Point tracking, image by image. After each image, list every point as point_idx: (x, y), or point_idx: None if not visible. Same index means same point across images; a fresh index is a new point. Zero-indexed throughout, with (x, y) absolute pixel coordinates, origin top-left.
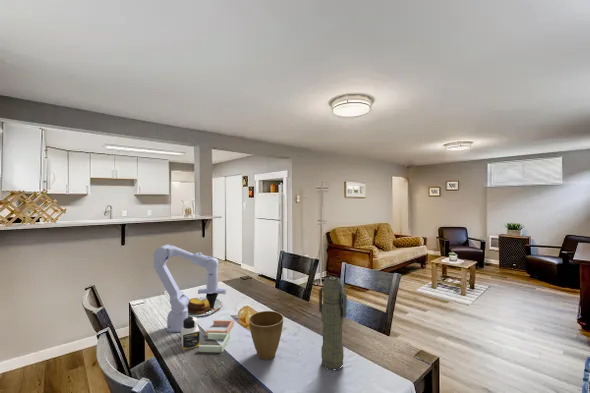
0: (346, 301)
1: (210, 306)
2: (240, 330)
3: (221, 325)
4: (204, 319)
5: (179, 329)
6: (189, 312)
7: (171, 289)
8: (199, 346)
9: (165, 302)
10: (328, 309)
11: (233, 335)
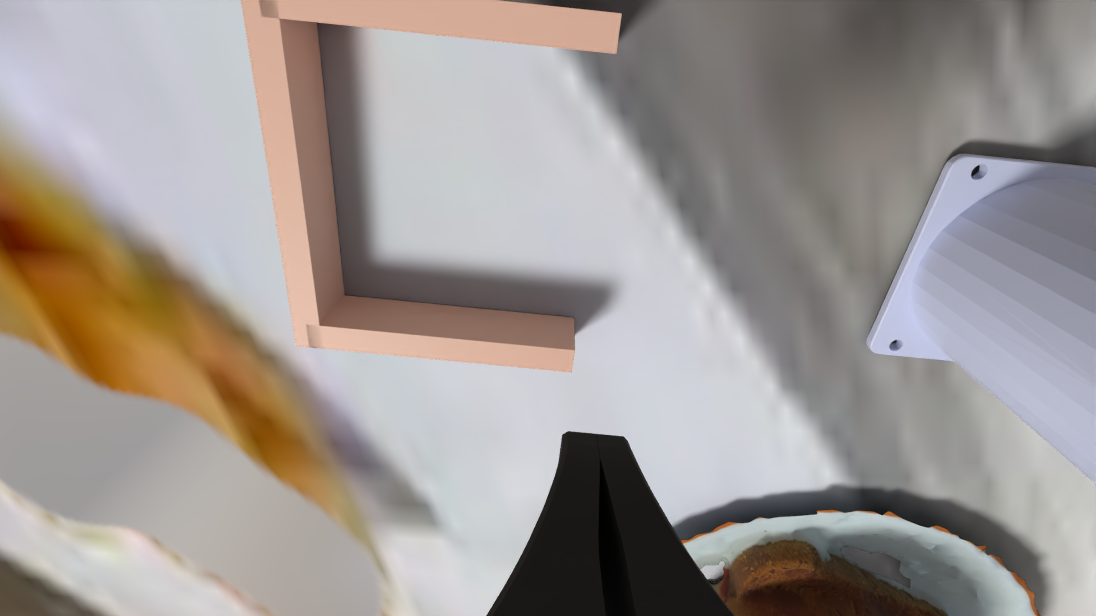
0: None
1: (624, 459)
2: (170, 167)
3: (471, 309)
4: (712, 460)
5: (1045, 185)
6: (895, 590)
7: None
8: None
9: None
10: None
11: (198, 11)
